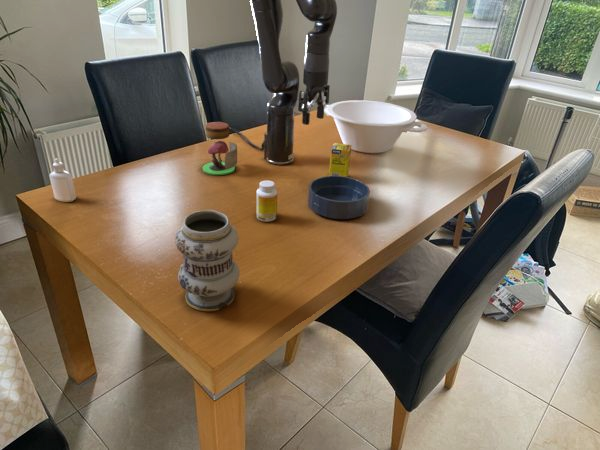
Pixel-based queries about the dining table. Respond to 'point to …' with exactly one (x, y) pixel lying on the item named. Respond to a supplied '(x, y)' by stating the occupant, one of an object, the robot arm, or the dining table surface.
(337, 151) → the supplement box
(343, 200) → the bowl
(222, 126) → the mushroom terrarium
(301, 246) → the dining table surface
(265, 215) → the supplement bottle
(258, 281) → the dining table surface
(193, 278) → the apothecary jar
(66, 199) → the eye dropper bottle
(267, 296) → the dining table surface
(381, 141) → the white wash basin
